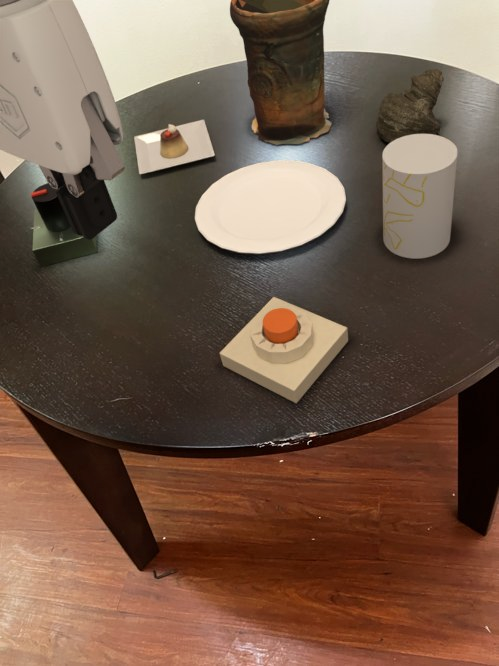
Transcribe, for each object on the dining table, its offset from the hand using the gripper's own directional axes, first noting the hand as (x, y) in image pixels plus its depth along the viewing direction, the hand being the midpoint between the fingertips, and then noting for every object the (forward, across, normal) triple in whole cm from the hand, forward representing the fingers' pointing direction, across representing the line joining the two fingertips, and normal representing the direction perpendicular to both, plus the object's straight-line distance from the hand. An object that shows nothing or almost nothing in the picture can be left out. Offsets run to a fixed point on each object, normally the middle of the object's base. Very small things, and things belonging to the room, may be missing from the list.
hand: (96, 226), depth 50 cm
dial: (+22, -35, +15) cm, 44 cm away
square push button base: (+25, +5, +13) cm, 29 cm away
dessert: (+25, -36, +39) cm, 59 cm away
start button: (+21, +5, +13) cm, 26 cm away
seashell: (+25, -6, +57) cm, 63 cm away
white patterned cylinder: (+25, +8, +37) cm, 46 cm away
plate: (+25, -12, +33) cm, 43 cm away
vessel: (+25, -23, +54) cm, 64 cm away
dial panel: (+25, -35, +15) cm, 46 cm away
